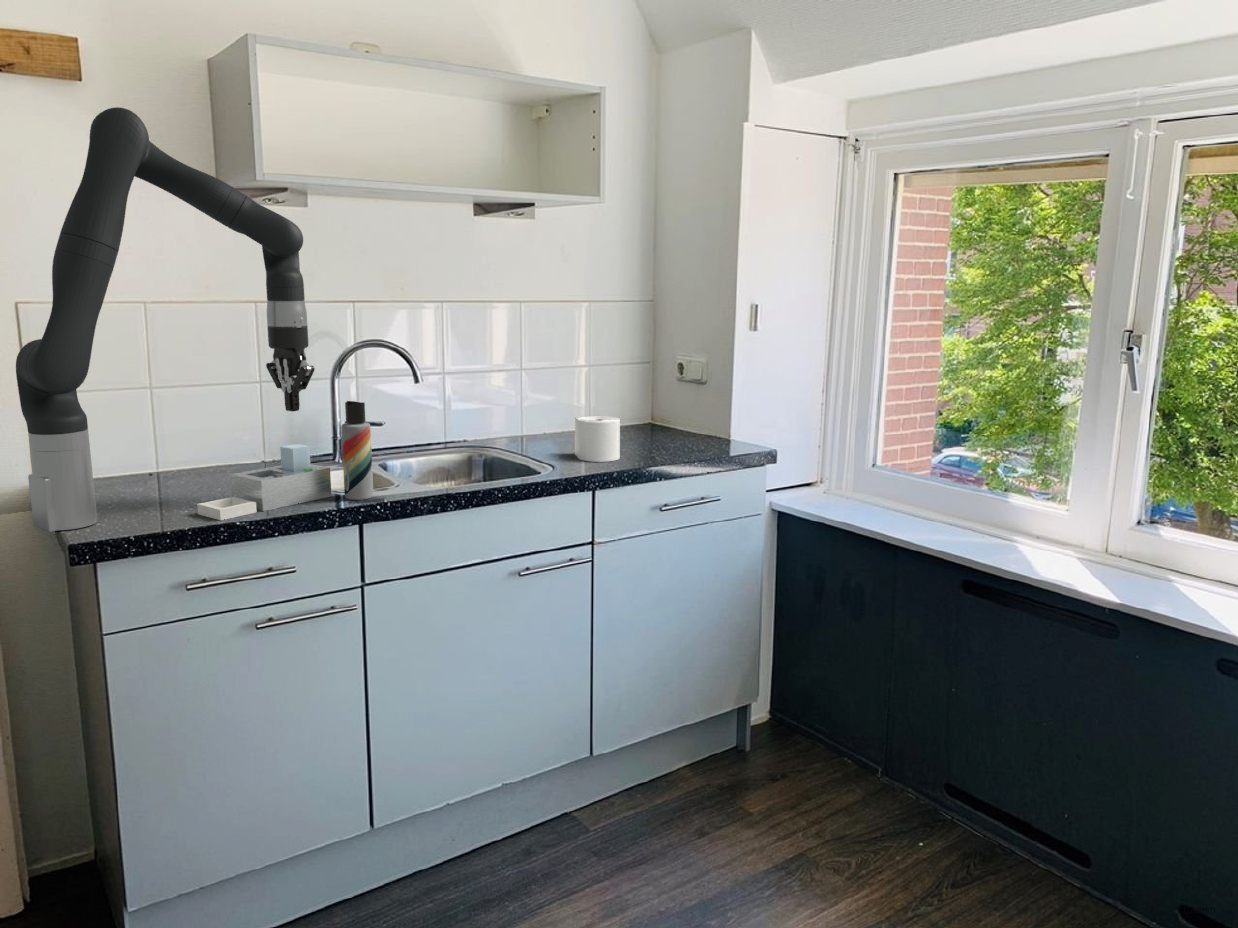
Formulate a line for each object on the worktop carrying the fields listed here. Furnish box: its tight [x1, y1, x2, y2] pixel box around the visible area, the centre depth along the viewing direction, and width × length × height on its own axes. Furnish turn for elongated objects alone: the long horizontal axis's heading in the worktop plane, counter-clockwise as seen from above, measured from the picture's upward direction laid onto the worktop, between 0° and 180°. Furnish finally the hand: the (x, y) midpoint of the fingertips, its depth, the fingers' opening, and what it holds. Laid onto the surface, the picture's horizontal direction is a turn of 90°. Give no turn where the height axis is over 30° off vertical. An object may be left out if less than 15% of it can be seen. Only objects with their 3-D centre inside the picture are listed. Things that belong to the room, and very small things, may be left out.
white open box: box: [196, 496, 258, 521], centre depth 180 cm, size 8×8×2 cm
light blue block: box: [280, 443, 311, 472], centre depth 193 cm, size 4×4×9 cm
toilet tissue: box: [574, 415, 621, 463], centre depth 237 cm, size 11×12×10 cm
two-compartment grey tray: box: [230, 463, 332, 512], centre depth 191 cm, size 16×10×6 cm, turn 145°
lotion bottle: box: [340, 400, 374, 501], centre depth 193 cm, size 6×6×20 cm
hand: (292, 410), depth 191 cm, fingers closed
